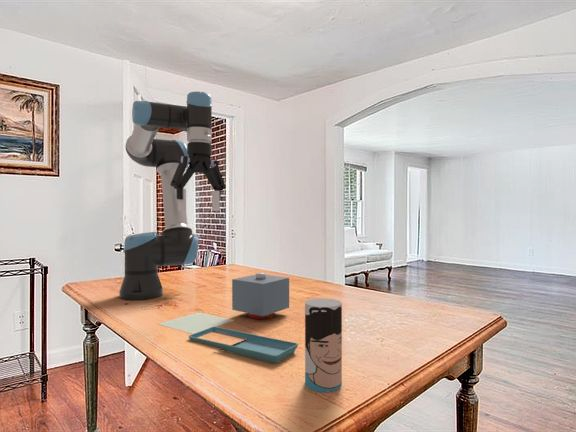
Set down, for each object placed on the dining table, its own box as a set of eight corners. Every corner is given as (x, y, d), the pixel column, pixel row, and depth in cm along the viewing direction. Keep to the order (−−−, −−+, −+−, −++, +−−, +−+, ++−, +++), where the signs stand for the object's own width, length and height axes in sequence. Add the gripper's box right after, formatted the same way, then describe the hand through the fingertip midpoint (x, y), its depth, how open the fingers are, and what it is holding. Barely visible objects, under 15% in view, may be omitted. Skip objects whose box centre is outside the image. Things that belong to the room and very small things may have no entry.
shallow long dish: (187, 344, 94) (187, 334, 94) (213, 334, 102) (213, 324, 102) (276, 368, 80) (276, 356, 80) (299, 354, 88) (299, 343, 88)
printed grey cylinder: (307, 392, 68) (307, 307, 68) (303, 376, 75) (303, 298, 75) (345, 391, 69) (345, 306, 68) (338, 375, 75) (338, 298, 75)
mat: (157, 325, 108) (157, 323, 108) (199, 314, 120) (199, 312, 120) (193, 336, 99) (193, 333, 99) (234, 322, 111) (234, 320, 111)
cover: (232, 309, 115) (232, 274, 115) (258, 302, 124) (258, 269, 124) (263, 316, 108) (263, 278, 107) (289, 307, 117) (289, 272, 117)
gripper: (174, 135, 110) (174, 210, 110) (236, 146, 130) (236, 210, 130) (157, 138, 114) (158, 210, 115) (220, 149, 135) (220, 210, 135)
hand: (199, 210), depth 123 cm, fingers open, 13 cm apart
